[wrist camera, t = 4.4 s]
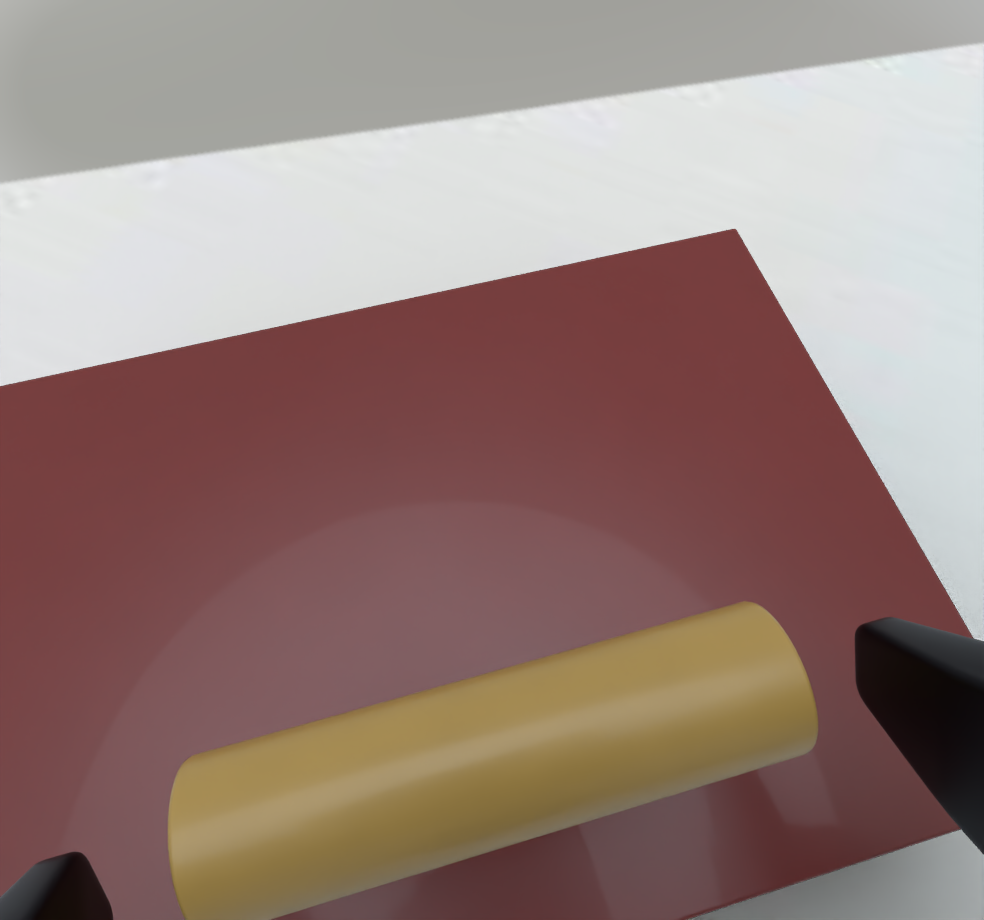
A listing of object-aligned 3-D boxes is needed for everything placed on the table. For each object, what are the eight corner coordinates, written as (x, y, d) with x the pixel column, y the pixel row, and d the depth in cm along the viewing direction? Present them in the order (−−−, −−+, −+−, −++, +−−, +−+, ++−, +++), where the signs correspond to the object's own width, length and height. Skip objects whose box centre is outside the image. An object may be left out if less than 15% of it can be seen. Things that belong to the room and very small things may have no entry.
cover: (1035, 796, 11) (1481, 776, 6) (-42, 1150, 10) (-683, 1542, 4) (727, 249, 17) (829, -5, 12) (1, 407, 15) (-262, 189, 10)
